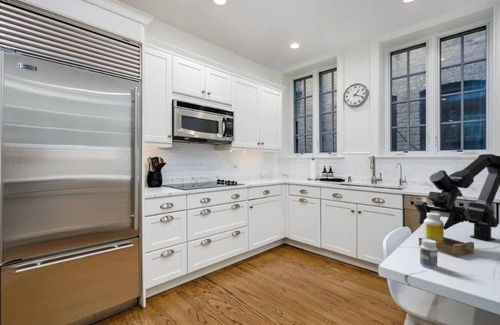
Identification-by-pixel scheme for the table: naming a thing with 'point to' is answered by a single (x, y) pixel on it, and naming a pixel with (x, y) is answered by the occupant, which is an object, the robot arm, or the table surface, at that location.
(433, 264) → the pill bottle
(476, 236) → the robot arm
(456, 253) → the bay
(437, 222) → the supplement bottle
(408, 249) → the table surface
